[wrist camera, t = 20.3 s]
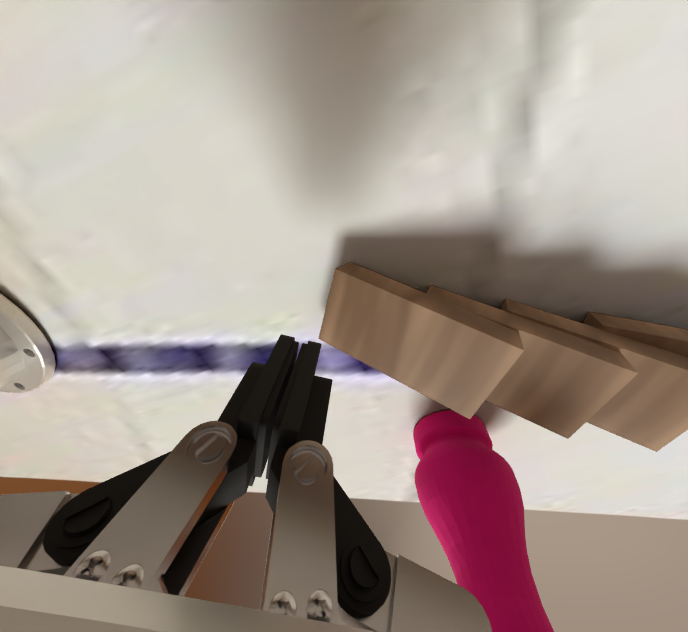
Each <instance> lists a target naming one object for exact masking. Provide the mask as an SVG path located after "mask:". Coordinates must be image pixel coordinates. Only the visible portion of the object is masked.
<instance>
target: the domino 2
mask: <svg viewBox="0 0 688 632" xmlns="http://www.w3.org/2000/svg"><path fill="white" fill-rule="evenodd" d="M426 294H429V295H431V296H434V297H436V298H438V299H441V300H443V301H446V302H448V303H450V304H453V305H455V306H458V307H460V308H463V309H465V310H467V311H470V312H472V313H475V314H477V315H479V316H482V317H484V318H487V319H489V320H491V321H494V322H496V323H499V324H501V325H504V326H506V327H508V328H511V329H513V330H516V331H518V332H519V334H520V337H521V341H522V344H523V348H524V351H523V353H522V354H521V355H520V356H519V358H518V359H517V360H516V362H515V363H514V364H513V365H512V367H511V368H510V369H509V370H508V372H507V373H506V374H505V376H504V377H503V378H502V379H501V381H500V382H499V383H498V384H497V386H496V387H495V388H494V390H493V391H492V392H491V393H490V395H489V396H488V397H487V398H486V401H488V402H490V403H492V404H494V405H496V406H499V407H501V408H503V409H505V410H507V411H509V412H511V413H514V414H516V415H518V416H520V417H522V418H524V419H527V420H529V421H531V422H533V423H535V424H537V425H540V426H542V427H544V428H546V429H548V430H550V431H552V432H555V433H557V434H559V435H561V436H563V437H565V438H569V437H570V436H572V435H573V434H574V433H575V432H576V431H577V430H578V429H579V428H580V427H581V426H582V425H583V424H584V423H586V422H587V421H588V420H589V419H590V418H591V417H592V416H593V415H594V414H595V413H596V412H597V411H598V410H600V409H601V408H602V407H603V406H604V405H605V404H606V403H607V402H608V401H609V400H610V399H611V398H612V397H614V396H615V395H616V394H617V393H618V392H619V391H620V390H621V389H622V388H623V387H624V386H625V385H626V384H628V383H629V382H630V381H631V380H632V379H633V378H634V377H635V376H636V375H637V374H638V372H637V371H636V370H635V369H634V368H633V367H632V365H631V364H630V363H629V362H628V361H627V359H626V358H625V357H624V356H623V355H622V354H621V352H620V351H617V350H614V349H611V348H609V347H606V346H603V345H600V344H597V343H594V342H591V341H589V340H586V339H583V338H580V337H577V336H574V335H572V334H569V333H566V332H563V331H560V330H557V329H555V328H552V327H549V326H546V325H543V324H540V323H537V322H535V321H532V320H529V319H526V318H523V317H520V316H518V315H515V314H512V313H509V312H506V311H503V310H501V309H498V308H495V307H492V306H489V305H486V304H484V303H481V302H478V301H475V300H472V299H469V298H466V297H464V296H461V295H458V294H455V293H452V292H449V291H447V290H444V289H441V288H438V287H435V286H432V285H431V286H430V287H429V289H428V291H427V292H426Z"/></svg>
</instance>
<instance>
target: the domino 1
mask: <svg viewBox="0 0 688 632" xmlns="http://www.w3.org/2000/svg"><path fill="white" fill-rule="evenodd" d="M319 339H320V340H322V341H324V342H326V343H328V344H330V345H331V346H333V347H335V348H337V349H339V350H341V351H343V352H345V353H346V354H348V355H350V356H352V357H354V358H356V359H358V360H360V361H361V362H363V363H365V364H367V365H369V366H371V367H373V368H375V369H376V370H378V371H380V372H382V373H384V374H386V375H388V376H390V377H391V378H393V379H395V380H397V381H399V382H401V383H403V384H405V385H406V386H408V387H410V388H412V389H414V390H416V391H418V392H420V393H421V394H423V395H425V396H427V397H429V398H431V399H433V400H435V401H436V402H438V403H440V404H442V405H444V406H446V407H448V408H450V409H451V410H453V411H455V412H457V413H459V414H461V415H463V416H465V417H466V418H468V419H471V417H472V416H473V415H474V414H475V412H476V411H477V410H478V409H479V407H480V406H481V405H482V403H483V402H484V401H485V400H486V398H487V397H488V396H489V395H490V393H491V392H492V391H493V390H494V388H495V387H496V386H497V384H498V383H499V382H500V381H501V379H502V378H503V377H504V376H505V374H506V373H507V372H508V370H509V369H510V368H511V367H512V365H513V364H514V363H515V362H516V360H517V359H518V358H519V356H520V355H521V354H522V353H523V351H524V348H523V344H522V341H521V337H520V334H519V332H518V331H516V330H513V329H511V328H508V327H506V326H504V325H501V324H499V323H496V322H494V321H491V320H489V319H487V318H484V317H482V316H479V315H477V314H475V313H472V312H470V311H467V310H465V309H463V308H460V307H458V306H455V305H453V304H450V303H448V302H446V301H443V300H441V299H438V298H436V297H434V296H431V295H429V294H426V293H424V292H421V291H419V290H417V289H414V288H412V287H409V286H407V285H405V284H402V283H400V282H397V281H395V280H393V279H390V278H388V277H385V276H383V275H380V274H378V273H376V272H373V271H371V270H368V269H366V268H364V267H361V266H359V265H356V264H354V263H351V262H349V263H347V264H345V265H343V266H341V267H339V268H336V269H335V272H334V277H333V281H332V285H331V289H330V293H329V297H328V302H327V306H326V310H325V314H324V318H323V322H322V327H321V331H320V335H319Z"/></svg>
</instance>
